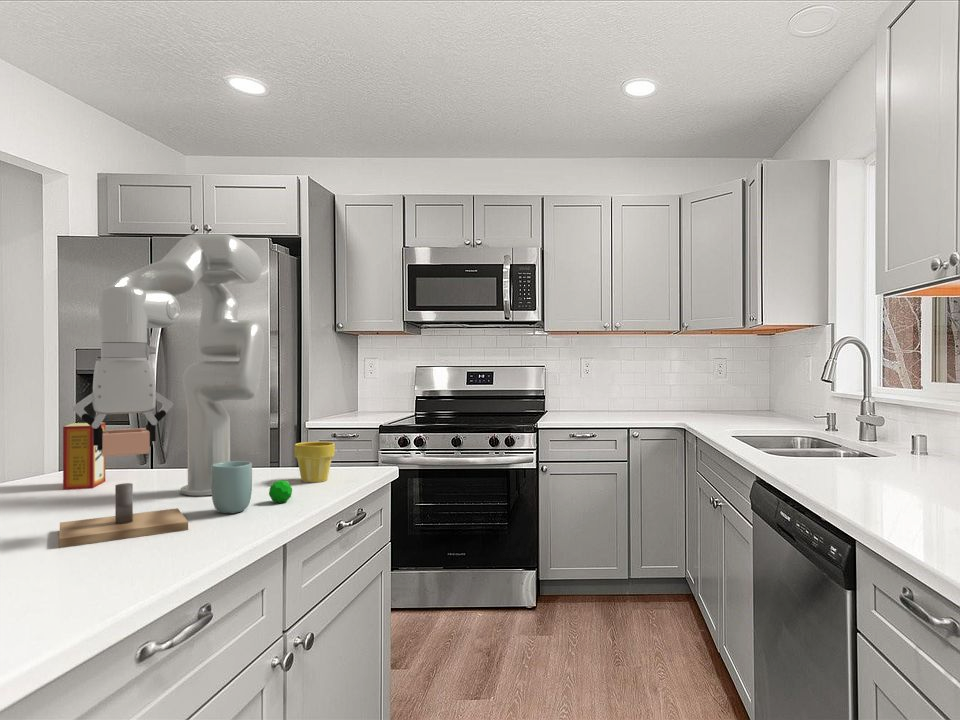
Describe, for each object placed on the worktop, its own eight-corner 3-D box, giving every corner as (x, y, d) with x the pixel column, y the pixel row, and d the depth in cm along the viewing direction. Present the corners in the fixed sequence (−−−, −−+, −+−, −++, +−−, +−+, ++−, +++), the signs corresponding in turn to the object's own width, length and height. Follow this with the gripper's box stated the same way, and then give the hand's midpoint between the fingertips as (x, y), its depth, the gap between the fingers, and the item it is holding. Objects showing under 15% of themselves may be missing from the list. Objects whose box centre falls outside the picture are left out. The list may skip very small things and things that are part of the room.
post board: (177, 515, 127) (177, 474, 127) (188, 529, 116) (188, 484, 116) (59, 530, 116) (59, 485, 116) (59, 547, 105) (59, 497, 105)
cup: (259, 508, 133) (259, 462, 133) (234, 517, 125) (234, 467, 125) (230, 506, 135) (229, 460, 135) (203, 514, 128) (203, 465, 128)
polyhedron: (273, 505, 135) (273, 484, 135) (265, 502, 139) (265, 480, 139) (295, 502, 139) (295, 481, 139) (287, 498, 142) (287, 478, 142)
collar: (145, 448, 121) (145, 428, 121) (149, 453, 115) (149, 431, 115) (100, 451, 117) (100, 430, 117) (103, 457, 111) (102, 434, 111)
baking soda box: (77, 482, 162) (77, 421, 163) (105, 481, 164) (105, 420, 164) (63, 489, 153) (63, 425, 153) (92, 488, 155) (92, 424, 155)
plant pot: (324, 475, 172) (324, 440, 172) (341, 480, 164) (341, 443, 164) (288, 479, 165) (288, 443, 165) (304, 485, 157) (304, 447, 157)
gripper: (172, 353, 124) (173, 441, 124) (68, 353, 114) (69, 449, 114) (178, 353, 118) (179, 446, 118) (68, 352, 108) (69, 454, 108)
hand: (125, 446), depth 116 cm, fingers closed on collar, 7 cm apart
